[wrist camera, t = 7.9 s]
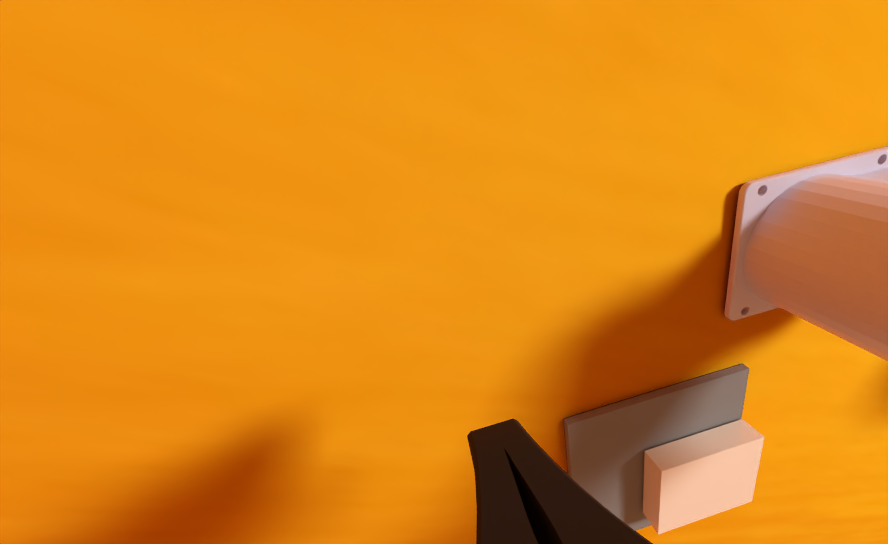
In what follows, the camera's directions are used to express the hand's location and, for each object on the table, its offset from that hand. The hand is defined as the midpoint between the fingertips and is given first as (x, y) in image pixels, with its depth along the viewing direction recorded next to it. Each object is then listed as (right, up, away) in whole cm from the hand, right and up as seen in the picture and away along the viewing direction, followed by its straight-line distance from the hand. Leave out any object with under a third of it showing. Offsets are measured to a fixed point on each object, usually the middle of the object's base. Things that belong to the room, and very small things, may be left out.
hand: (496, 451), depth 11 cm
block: (+12, -9, +16) cm, 22 cm away
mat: (+13, -8, +17) cm, 22 cm away
